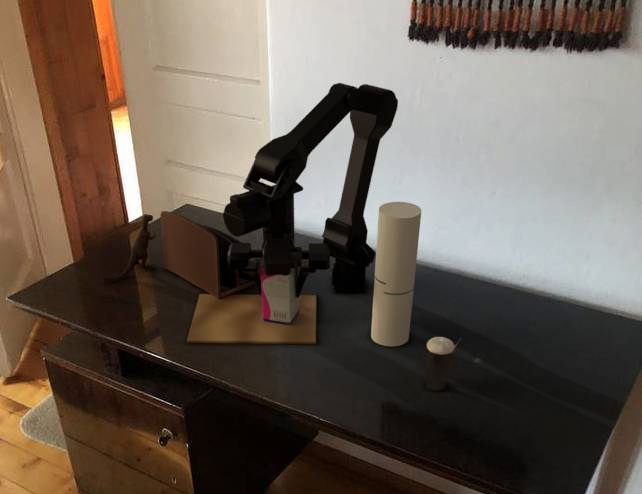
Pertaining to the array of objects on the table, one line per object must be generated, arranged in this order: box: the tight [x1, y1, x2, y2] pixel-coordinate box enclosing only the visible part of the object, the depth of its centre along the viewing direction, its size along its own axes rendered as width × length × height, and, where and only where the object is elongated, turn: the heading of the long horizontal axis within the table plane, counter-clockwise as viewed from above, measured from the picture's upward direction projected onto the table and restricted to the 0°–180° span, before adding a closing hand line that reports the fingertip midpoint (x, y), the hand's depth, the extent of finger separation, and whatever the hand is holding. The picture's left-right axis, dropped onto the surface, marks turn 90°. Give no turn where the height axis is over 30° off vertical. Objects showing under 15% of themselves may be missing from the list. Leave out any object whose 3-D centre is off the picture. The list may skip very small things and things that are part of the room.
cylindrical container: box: [370, 201, 422, 348], centre depth 131 cm, size 7×7×25 cm
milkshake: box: [425, 336, 462, 392], centre depth 123 cm, size 4×5×10 cm
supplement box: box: [260, 263, 299, 325], centre depth 140 cm, size 6×6×12 cm
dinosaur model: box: [101, 213, 157, 282], centre depth 156 cm, size 4×12×15 cm
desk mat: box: [186, 293, 317, 345], centre depth 144 cm, size 24×18×1 cm
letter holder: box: [160, 210, 256, 299], centre depth 153 cm, size 10×20×14 cm, turn 43°
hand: (280, 296), depth 141 cm, fingers closed on supplement box, 6 cm apart
